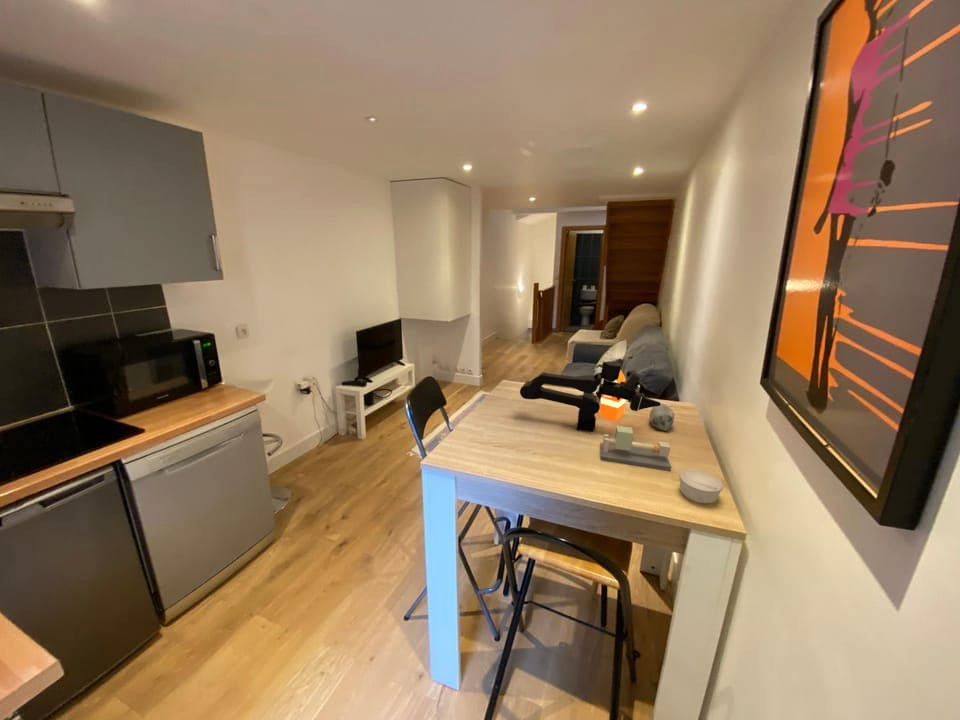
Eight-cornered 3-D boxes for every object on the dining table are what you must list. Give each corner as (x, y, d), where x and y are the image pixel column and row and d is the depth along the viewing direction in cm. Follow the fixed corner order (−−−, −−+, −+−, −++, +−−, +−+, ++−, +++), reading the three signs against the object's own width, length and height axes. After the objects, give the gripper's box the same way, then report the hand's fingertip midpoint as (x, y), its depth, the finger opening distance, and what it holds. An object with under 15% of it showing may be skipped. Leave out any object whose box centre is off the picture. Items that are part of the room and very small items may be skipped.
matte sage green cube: (615, 448, 130) (617, 431, 128) (614, 442, 134) (616, 425, 132) (630, 450, 128) (633, 433, 127) (629, 444, 133) (631, 427, 131)
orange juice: (598, 415, 164) (603, 372, 159) (606, 409, 171) (612, 367, 165) (616, 421, 159) (622, 376, 154) (624, 414, 166) (630, 371, 160)
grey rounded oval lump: (678, 428, 146) (669, 403, 148) (653, 434, 151) (644, 410, 152) (678, 423, 159) (669, 400, 160) (655, 428, 163) (646, 406, 164)
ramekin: (689, 506, 107) (692, 490, 105) (669, 483, 118) (672, 468, 116) (728, 507, 107) (732, 491, 105) (705, 483, 118) (708, 468, 116)
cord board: (600, 460, 129) (602, 442, 128) (599, 446, 139) (601, 429, 137) (670, 471, 124) (673, 452, 122) (664, 455, 133) (668, 438, 131)
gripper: (620, 378, 134) (667, 388, 129) (620, 363, 150) (663, 371, 146) (613, 406, 137) (659, 417, 133) (614, 388, 154) (655, 397, 149)
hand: (659, 399), depth 140 cm, fingers open, 9 cm apart
